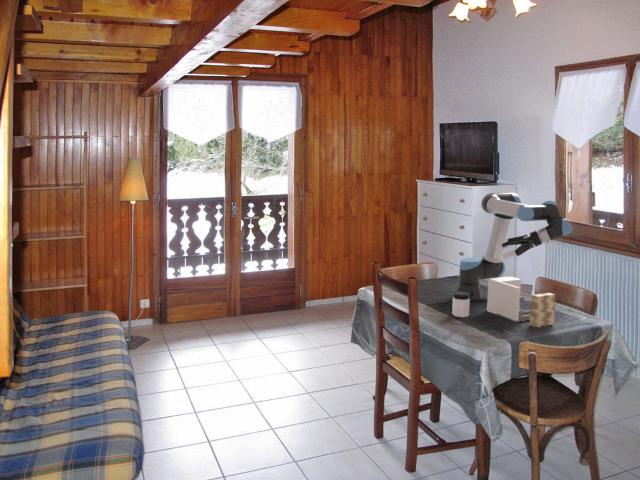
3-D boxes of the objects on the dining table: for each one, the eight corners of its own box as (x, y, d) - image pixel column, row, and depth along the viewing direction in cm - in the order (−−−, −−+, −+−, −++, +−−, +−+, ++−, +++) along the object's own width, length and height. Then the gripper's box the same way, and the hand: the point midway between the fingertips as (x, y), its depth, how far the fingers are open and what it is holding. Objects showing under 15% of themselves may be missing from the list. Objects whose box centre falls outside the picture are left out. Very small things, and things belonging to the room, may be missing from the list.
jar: (450, 316, 336) (451, 294, 335) (453, 312, 344) (454, 290, 342) (467, 318, 333) (468, 295, 331) (470, 314, 340) (471, 292, 339)
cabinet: (509, 308, 354) (511, 276, 351) (539, 319, 333) (541, 285, 330) (486, 310, 348) (488, 278, 345) (515, 322, 326) (517, 288, 324)
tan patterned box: (547, 323, 326) (550, 292, 323) (553, 325, 322) (555, 294, 320) (529, 325, 321) (531, 294, 318) (535, 327, 317) (537, 296, 315)
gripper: (537, 235, 309) (495, 251, 317) (547, 251, 329) (508, 266, 337) (531, 222, 313) (491, 238, 320) (542, 238, 333) (503, 253, 341)
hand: (499, 252), depth 329 cm, fingers open, 13 cm apart
